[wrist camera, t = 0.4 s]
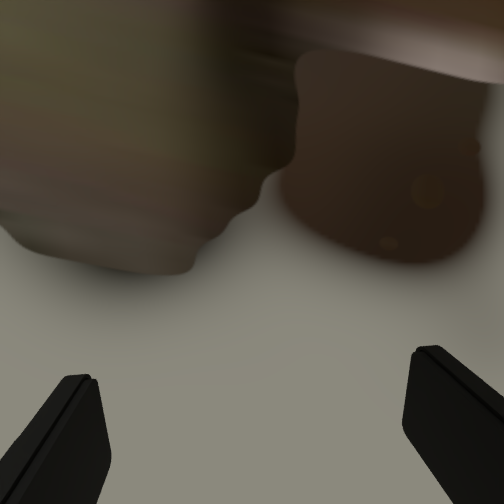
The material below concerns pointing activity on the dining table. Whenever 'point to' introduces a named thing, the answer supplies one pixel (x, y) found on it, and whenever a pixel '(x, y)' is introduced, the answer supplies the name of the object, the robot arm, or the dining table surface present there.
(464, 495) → the robot arm
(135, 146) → the dining table surface
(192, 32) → the dining table surface
